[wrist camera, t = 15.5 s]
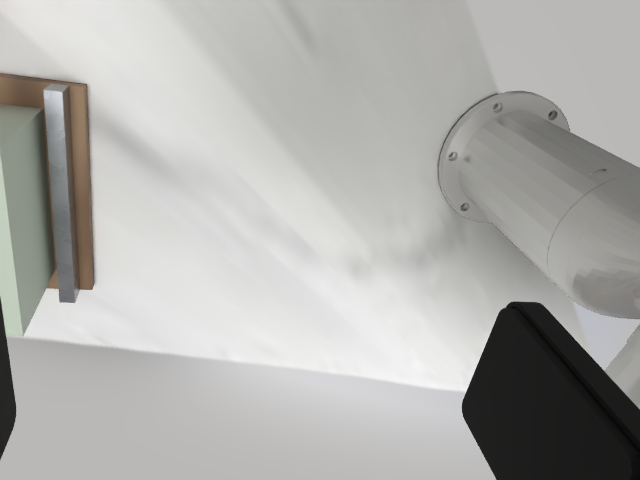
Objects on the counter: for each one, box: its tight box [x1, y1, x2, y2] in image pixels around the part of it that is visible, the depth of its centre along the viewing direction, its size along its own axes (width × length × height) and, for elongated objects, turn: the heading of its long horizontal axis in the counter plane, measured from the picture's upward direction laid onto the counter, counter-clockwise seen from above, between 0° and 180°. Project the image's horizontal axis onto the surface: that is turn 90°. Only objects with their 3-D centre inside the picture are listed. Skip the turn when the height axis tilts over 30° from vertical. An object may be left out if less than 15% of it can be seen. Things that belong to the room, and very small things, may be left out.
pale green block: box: [0, 104, 56, 336], centre depth 37 cm, size 4×14×9 cm, turn 170°
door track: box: [0, 74, 94, 303], centre depth 40 cm, size 10×18×3 cm, turn 170°
